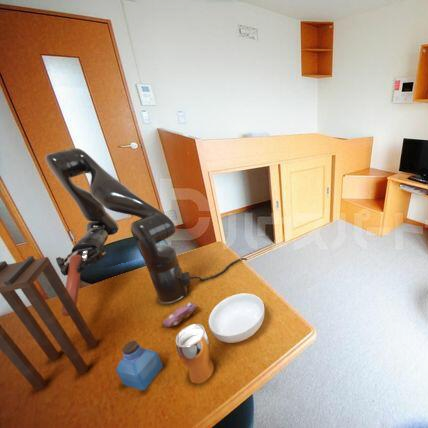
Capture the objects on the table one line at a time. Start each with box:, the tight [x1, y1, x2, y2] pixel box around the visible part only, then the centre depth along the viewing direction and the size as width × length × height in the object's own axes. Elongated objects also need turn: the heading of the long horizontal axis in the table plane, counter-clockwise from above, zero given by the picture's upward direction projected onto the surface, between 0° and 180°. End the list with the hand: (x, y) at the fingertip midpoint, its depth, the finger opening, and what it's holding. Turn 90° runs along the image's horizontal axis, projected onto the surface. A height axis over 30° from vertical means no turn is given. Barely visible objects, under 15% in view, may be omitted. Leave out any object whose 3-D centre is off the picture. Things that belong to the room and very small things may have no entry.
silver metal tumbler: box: [175, 323, 215, 384], centre depth 62 cm, size 7×7×15 cm
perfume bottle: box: [115, 340, 164, 391], centre depth 62 cm, size 6×6×12 cm
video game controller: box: [162, 302, 198, 328], centre depth 80 cm, size 10×5×7 cm, turn 148°
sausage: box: [61, 255, 82, 317], centre depth 76 cm, size 21×3×3 cm
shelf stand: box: [0, 255, 98, 391], centre depth 60 cm, size 10×10×33 cm
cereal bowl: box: [208, 292, 265, 344], centre depth 77 cm, size 17×17×7 cm
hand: (71, 271), depth 77 cm, fingers closed on sausage, 3 cm apart
